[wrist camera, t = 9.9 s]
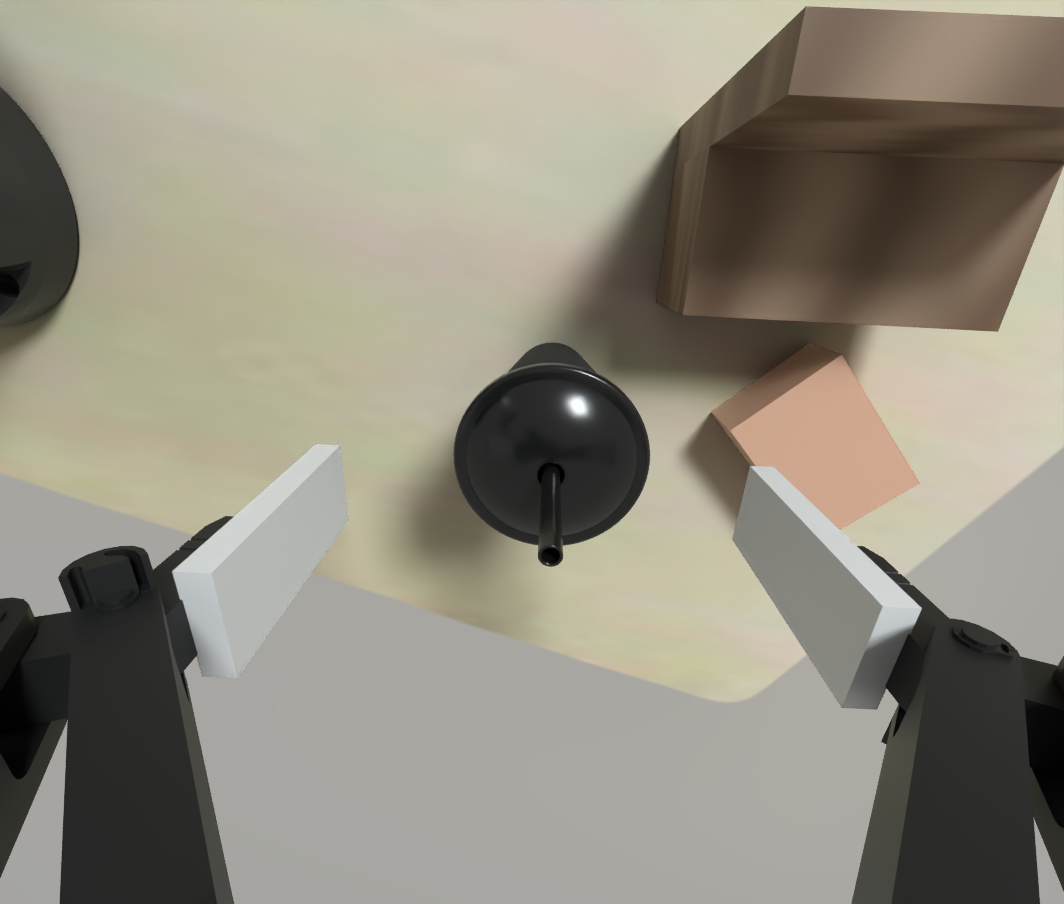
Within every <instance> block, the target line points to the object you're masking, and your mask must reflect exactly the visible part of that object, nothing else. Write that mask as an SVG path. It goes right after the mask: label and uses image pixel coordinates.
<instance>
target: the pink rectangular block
mask: <svg viewBox="0 0 1064 904" xmlns="http://www.w3.org/2000/svg"><path fill="white" fill-rule="evenodd" d="M711 413H712V414H713V415H714V417H715V418H716V420H717V421H718V422H719V424H720V425H721V426H722V428H723V429H724V430H725V432H726V433H727V435H728V436H729V437H730V439H731V440H732V441H733V443H734V444H735V446H736V447H737V448H738V450H739V451H740V452H741V454H742V455H743V457H744V458H745V459H746V461H747V462H748V463H749V465H750V466H764V467H774V468H775V469H777V470H778V471H779V472H780V473H781V474H782V475H783V476H784V477H785V478H786V479H787V480H788V481H789V482H790V483H791V484H792V485H793V486H794V487H795V488H796V489H797V490H799V491H800V492H801V493H802V494H803V495H804V496H805V497H806V498H807V499H808V500H809V501H810V502H811V503H812V504H813V505H814V506H815V507H816V508H817V509H818V510H819V511H821V512H822V513H823V514H824V515H825V516H826V517H827V518H828V519H829V520H830V521H831V522H832V523H833V524H834V525H835V526H836V527H837V528H838V529H839V530H840V529H842V528H844V527H845V526H847V525H849V524H851V523H852V522H854V521H856V520H857V519H859V518H861V517H863V516H864V515H866V514H868V513H869V512H871V511H873V510H875V509H876V508H878V507H880V506H881V505H883V504H885V503H887V502H888V501H890V500H892V499H894V498H895V497H897V496H899V495H900V494H902V493H904V492H906V491H907V490H909V489H911V488H912V487H914V486H916V485H918V484H919V483H920V482H919V481H918V479H917V477H916V476H915V474H914V472H913V471H912V469H911V468H910V466H909V464H908V463H907V461H906V459H905V458H904V456H903V454H902V453H901V451H900V450H899V448H898V446H897V445H896V443H895V441H894V440H893V438H892V436H891V435H890V433H889V431H888V430H887V428H886V427H885V425H884V423H883V422H882V420H881V418H880V417H879V415H878V413H877V412H876V410H875V408H874V407H873V405H872V404H871V402H870V400H869V399H868V397H867V395H866V394H865V392H864V390H863V389H862V387H861V385H860V384H859V382H858V381H857V379H856V377H855V376H854V374H853V372H852V371H851V369H850V367H849V366H848V364H847V362H846V361H845V359H844V358H843V356H842V355H841V354H838V353H835V352H832V351H830V350H827V349H824V348H821V347H818V346H815V345H812V344H807V345H806V346H804V347H803V348H802V349H800V350H799V351H797V352H796V353H794V354H793V355H792V356H790V357H789V358H787V359H786V360H784V361H783V362H782V363H780V364H779V365H777V366H776V367H774V368H773V369H772V370H770V371H769V372H767V373H766V374H764V375H763V376H762V377H760V378H759V379H757V380H756V381H754V382H753V383H752V384H750V385H749V386H747V387H746V388H744V389H743V390H741V391H740V392H739V393H737V394H736V395H734V396H733V397H731V398H730V399H729V400H727V401H726V402H724V403H723V404H721V405H720V406H719V407H717V408H716V409H714V410H713V411H711Z"/></svg>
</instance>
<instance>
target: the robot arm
mask: <svg viewBox="0 0 1064 904" xmlns="http://www.w3.org/2000/svg"><path fill="white" fill-rule="evenodd" d="M77 245H78V238H77V225H76V218H75V212H74V208H73V204H72V200H71V196H70V193H69V190H68V187H67V184H66V182H65V179H64V177H63V174H62V172H61V170H60V167H59V165H58V163H57V161H56V159H55V157H54V155H53V154H52V152H51V150H50V148H49V147H48V145H47V143H46V142H45V140H44V139H43V137H42V135H41V134H40V132H39V131H38V130H37V128H36V127H35V125H34V124H33V123H32V121H31V120H30V119H29V118H28V116H27V115H26V114H25V113H24V111H23V110H22V109H21V108H20V107H19V106H18V105H17V103H16V102H15V101H14V100H13V99H12V98H11V97H10V96H9V95H8V94H7V93H6V92H5V91H4V90H3V89H2V88H1V87H0V327H5V326H12V325H18V324H22V323H25V322H28V321H31V320H33V319H35V318H37V317H39V316H41V315H42V314H44V313H46V312H47V311H48V310H49V309H51V308H52V307H53V306H54V305H55V304H56V303H57V302H58V300H59V299H60V298H61V297H62V295H63V294H64V292H65V291H66V289H67V287H68V285H69V283H70V280H71V278H72V275H73V272H74V268H75V263H76V257H77ZM347 522H348V512H347V503H346V494H345V485H344V477H343V468H342V459H341V450H340V445H321V444H316V445H315V446H313V447H312V448H311V449H310V450H309V451H308V452H307V453H306V454H304V455H303V456H302V457H301V458H300V459H299V460H298V461H296V462H295V463H294V464H293V465H292V466H291V467H290V468H289V469H287V470H286V471H285V472H284V473H283V474H282V475H281V476H279V477H278V478H277V479H276V480H275V481H274V482H273V483H272V484H270V485H269V486H268V487H267V488H266V489H265V490H264V491H263V492H261V493H260V494H259V495H258V496H257V497H256V498H255V499H253V500H252V501H251V502H250V503H249V504H248V505H247V506H246V507H244V508H243V509H242V510H241V511H240V512H239V513H238V514H236V515H235V516H234V517H231V516H225V517H223V518H221V519H219V520H217V521H215V522H213V523H211V524H209V525H207V526H205V527H204V528H203V529H202V530H200V531H199V532H198V533H197V534H196V535H194V536H193V537H192V538H191V541H189V540H188V541H187V542H186V543H185V544H184V545H182V546H181V547H180V550H179V551H178V550H176V551H175V552H174V553H173V554H172V555H171V556H169V557H168V558H167V559H166V560H165V561H164V562H162V563H161V564H160V565H159V566H157V567H156V568H155V569H154V570H153V569H152V566H151V563H150V560H149V556H148V553H147V552H146V551H145V550H144V549H143V548H140V547H136V546H119V547H113V548H108V549H103V550H100V551H97V552H94V553H91V554H88V555H86V556H84V557H82V558H80V559H78V560H76V561H74V562H72V563H71V564H70V565H68V566H67V567H66V568H65V569H63V570H62V572H61V574H60V576H59V577H58V578H59V581H60V583H61V586H62V589H63V591H64V594H65V596H66V599H67V601H68V604H69V606H70V608H71V612H65V613H58V614H52V615H45V616H38V617H34V615H33V613H32V610H31V608H30V606H29V604H28V603H27V602H26V601H24V599H18V598H4V599H0V877H1V875H2V873H3V870H4V868H5V865H6V863H7V861H8V858H9V856H10V854H11V851H12V849H13V847H14V844H15V842H16V840H17V837H18V835H19V833H20V830H21V828H22V825H23V823H24V821H25V819H26V816H27V814H28V812H29V809H30V807H31V804H32V802H33V800H34V797H35V795H36V793H37V790H38V788H39V786H40V783H41V781H42V779H43V776H44V774H45V772H46V769H47V767H48V764H49V762H50V760H51V758H52V755H53V753H54V750H55V748H56V746H57V743H58V741H59V739H60V736H61V734H62V732H63V729H64V727H65V725H66V722H67V720H68V726H67V727H68V728H67V749H66V772H65V794H64V818H63V841H62V863H61V886H60V904H234V901H233V897H232V892H231V888H230V883H229V878H228V873H227V868H226V864H225V859H224V854H223V850H222V845H221V840H220V836H219V831H218V826H217V821H216V816H215V812H214V807H213V802H212V798H211V793H210V788H209V783H208V778H207V774H206V769H205V764H204V760H203V755H202V750H201V745H200V741H199V736H198V731H197V727H196V722H195V717H194V712H193V708H192V703H191V698H190V694H189V689H188V684H187V680H186V677H185V674H184V670H185V669H186V667H187V666H188V665H189V664H190V663H191V662H192V660H193V659H194V658H195V657H196V656H197V660H198V663H199V666H200V670H201V673H202V676H203V677H224V678H238V677H239V675H240V674H241V673H242V671H243V670H244V668H245V667H246V665H247V664H248V663H249V661H250V660H251V658H252V657H253V655H254V654H255V653H256V651H257V650H258V648H259V647H260V646H261V644H262V643H263V641H264V640H265V639H266V637H267V636H268V634H269V633H270V631H271V630H272V629H273V627H274V625H275V624H276V623H277V621H278V620H279V619H280V617H281V616H282V614H283V613H284V611H285V610H286V608H287V607H288V606H289V604H290V603H291V601H292V600H293V598H294V597H295V596H296V594H297V593H298V591H299V590H300V589H301V587H302V586H303V584H304V583H305V581H306V580H307V579H308V577H309V576H310V574H311V573H312V572H313V570H314V569H315V567H316V566H317V564H318V563H319V562H320V560H321V559H322V557H323V556H324V554H325V553H326V552H327V550H328V549H329V547H330V546H331V544H332V543H333V542H334V540H335V539H336V537H337V536H338V534H339V533H340V532H341V530H342V529H343V527H344V526H345V524H346V523H347ZM733 541H734V542H735V544H736V546H737V547H738V549H739V550H740V552H741V553H742V555H743V556H744V558H745V559H746V561H747V563H748V564H749V566H750V567H751V569H752V570H753V572H754V573H755V575H756V576H757V578H758V579H759V581H760V583H761V584H762V586H763V587H764V589H765V590H766V592H767V593H768V595H769V596H770V598H771V599H772V601H773V603H774V604H775V606H776V607H777V609H778V610H779V612H780V613H781V615H782V616H783V618H784V620H785V621H786V623H787V624H788V626H789V627H790V629H791V630H792V632H793V633H794V635H795V636H796V638H797V640H798V641H799V643H800V644H801V646H802V647H803V649H804V650H805V652H806V653H807V655H808V656H809V658H810V660H811V661H812V663H813V664H814V666H815V667H816V669H817V670H818V672H819V673H820V675H821V677H822V678H823V680H824V681H825V683H826V684H827V686H828V687H829V689H830V690H831V692H832V693H833V695H834V697H835V698H836V699H837V701H838V703H839V704H840V706H841V707H842V708H857V709H877V708H878V706H879V704H880V701H881V699H882V697H883V695H884V693H885V690H886V688H887V689H888V690H889V692H890V693H891V694H892V695H893V697H894V698H895V699H896V701H897V702H898V703H899V704H898V707H897V709H896V711H895V713H894V715H893V717H892V719H891V722H890V724H889V726H888V728H887V730H886V732H885V734H884V737H883V739H882V742H883V743H885V744H887V745H886V750H885V755H884V759H883V763H882V768H881V773H880V778H879V782H878V786H877V791H876V795H875V800H874V804H873V809H872V813H871V818H870V823H869V827H868V831H867V836H866V841H865V845H864V850H863V854H862V859H861V863H860V868H859V872H858V877H857V881H856V886H855V890H854V895H853V899H852V904H1040V898H1039V886H1038V872H1037V861H1036V845H1035V832H1034V819H1035V821H1036V824H1037V826H1038V829H1039V832H1040V834H1041V836H1042V839H1043V841H1044V844H1045V846H1046V849H1047V851H1048V854H1049V856H1050V859H1051V861H1052V864H1053V866H1054V868H1055V871H1056V873H1057V876H1058V878H1059V881H1060V883H1061V886H1062V888H1063V891H1064V656H1063V658H1062V660H1061V661H1060V663H1059V665H1058V666H1056V665H1052V664H1048V663H1044V662H1040V661H1036V660H1032V659H1028V658H1024V657H1020V655H1019V653H1018V651H1017V650H1016V649H1015V648H1014V647H1013V646H1012V645H1011V644H1010V643H1009V642H1007V641H1006V640H1005V639H1003V638H1001V637H1000V636H998V635H997V634H995V633H994V632H992V631H990V630H987V629H985V628H983V627H981V626H979V625H976V624H973V623H970V622H966V621H964V620H958V619H949V618H948V617H947V616H946V615H945V614H944V613H943V612H942V611H941V610H940V609H938V608H937V607H936V606H935V605H934V604H933V603H932V602H931V601H930V600H929V599H928V598H926V597H925V596H924V595H923V594H922V593H921V592H920V591H919V590H918V589H916V587H914V586H913V585H910V582H909V581H908V580H907V579H906V578H905V577H903V576H902V575H901V574H898V571H897V570H896V569H895V568H894V567H893V566H891V565H890V564H889V563H888V562H887V561H886V560H885V559H884V558H882V557H881V556H879V555H877V554H875V553H874V552H872V551H870V550H869V549H867V548H865V547H863V546H856V545H855V544H854V543H853V542H852V541H851V540H850V539H849V538H848V537H847V536H846V535H845V534H844V533H843V532H841V531H840V530H839V529H838V528H837V527H836V526H835V525H834V524H833V523H832V522H831V521H830V520H829V519H828V518H827V517H826V516H825V515H824V514H823V513H822V512H821V511H819V510H818V509H817V508H816V507H815V506H814V505H813V504H812V503H811V502H810V501H809V500H808V499H807V498H806V497H805V496H804V495H803V494H802V493H801V492H800V491H799V490H797V489H796V488H795V487H794V486H793V485H792V484H791V483H790V482H789V481H788V480H787V479H786V478H785V477H784V476H783V475H782V474H781V473H780V472H779V471H778V470H777V469H775V468H774V467H764V466H750V468H749V472H748V476H747V480H746V485H745V489H744V493H743V497H742V501H741V505H740V510H739V514H738V518H737V522H736V526H735V530H734V534H733ZM1033 817H1034V819H1033Z"/></svg>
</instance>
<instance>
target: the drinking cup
mask: <svg viewBox="0 0 1064 904" xmlns="http://www.w3.org/2000/svg"><path fill="white" fill-rule="evenodd" d="M649 464H650V447H649V440H648V435H647V432H646V428H645V425H644V423H643V421H642V418H641V416H640V414H639V413H638V411H637V409H636V408H635V406H634V405H633V403H632V402H631V400H630V399H629V398H628V397H627V396H626V395H625V393H624V392H623V391H622V390H620V389H619V388H618V387H617V386H616V385H615V384H613V383H612V382H611V381H609V380H608V379H606V378H605V377H603V376H601V375H599V374H597V373H596V372H595V371H594V370H593V369H592V368H591V367H590V366H589V365H588V363H587V362H586V361H585V360H584V359H583V358H582V357H581V356H580V355H579V354H578V353H577V352H576V351H575V350H573V349H572V348H570V347H568V346H566V345H563V344H559V343H545V344H541V345H538V346H536V347H534V348H532V349H530V350H529V351H528V352H527V353H526V354H524V356H523V357H522V358H521V359H520V360H519V361H518V362H517V363H516V364H515V365H514V366H513V367H512V368H511V369H510V371H509V372H508V373H506V374H504V375H502V376H500V377H499V378H497V379H496V380H494V381H493V382H491V383H490V384H489V385H487V386H486V387H485V388H484V389H483V390H482V391H481V392H480V393H479V394H478V395H477V396H476V397H475V398H474V400H473V401H472V402H471V404H470V405H469V407H468V408H467V410H466V412H465V413H464V415H463V417H462V419H461V422H460V424H459V427H458V430H457V433H456V437H455V443H454V467H455V473H456V477H457V480H458V483H459V486H460V488H461V491H462V493H463V495H464V497H465V498H466V500H467V502H468V503H469V504H470V506H471V507H472V509H473V510H474V511H475V512H476V513H477V514H478V516H479V517H480V518H482V519H483V520H484V521H485V522H486V523H487V524H488V525H490V526H491V527H492V528H494V529H495V530H497V531H499V532H500V533H502V534H504V535H506V536H508V537H510V538H513V539H515V540H518V541H521V542H525V543H529V544H534V545H538V559H539V561H540V562H541V563H542V564H543V565H545V566H556V565H558V564H559V563H560V562H561V561H562V559H563V545H570V544H575V543H579V542H582V541H586V540H588V539H591V538H593V537H596V536H598V535H600V534H602V533H603V532H605V531H607V530H608V529H610V528H611V527H613V526H614V525H615V524H616V523H618V522H619V521H620V520H621V519H622V518H623V517H624V516H625V515H626V514H627V513H628V512H629V511H630V509H631V508H632V507H633V505H634V504H635V503H636V501H637V499H638V498H639V496H640V494H641V492H642V490H643V487H644V485H645V482H646V479H647V475H648V471H649Z"/></svg>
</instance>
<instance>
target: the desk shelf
mask: <svg viewBox="0 0 1064 904" xmlns="http://www.w3.org/2000/svg"><path fill="white" fill-rule="evenodd" d="M1063 166H1064V18H1063V17H1040V16H1017V15H993V14H970V13H947V12H923V11H900V10H877V9H853V8H830V7H807V6H806V7H805V8H804V9H803V10H802V11H801V12H800V13H799V14H798V15H797V16H796V17H794V18H793V19H792V20H791V21H790V22H789V23H788V24H787V25H786V26H785V27H784V28H783V29H782V30H781V31H780V32H779V33H778V34H777V35H776V36H775V37H774V38H773V39H772V40H771V41H770V42H769V43H767V44H766V45H765V46H764V47H763V48H762V49H761V50H760V51H759V52H758V53H757V54H756V55H755V56H754V57H753V58H752V59H751V60H750V61H749V62H748V63H747V64H746V65H745V66H744V67H743V68H742V69H740V70H739V71H738V72H737V73H736V74H735V75H734V76H733V77H732V78H731V79H730V80H729V81H728V82H727V83H726V84H725V85H724V86H723V87H722V88H721V89H720V90H719V91H718V92H717V93H716V94H715V95H713V96H712V97H711V98H710V99H709V100H708V101H707V102H706V103H705V104H704V105H703V106H702V107H701V108H700V109H699V110H698V111H697V112H696V113H695V114H694V115H693V116H692V117H691V118H690V119H689V120H688V121H686V122H685V123H684V124H683V125H682V126H681V127H680V131H679V139H678V146H677V153H676V161H675V168H674V175H673V183H672V190H671V197H670V205H669V212H668V219H667V227H666V234H665V241H664V249H663V256H662V263H661V271H660V278H659V285H658V293H657V300H656V303H658V304H660V305H663V306H665V307H667V308H669V309H671V310H673V311H675V312H677V313H680V314H682V315H690V316H709V317H728V318H747V319H767V320H786V321H805V322H824V323H844V324H863V325H882V326H901V327H920V328H940V329H959V330H978V331H997V332H998V330H999V328H1000V325H1001V322H1002V320H1003V317H1004V315H1005V312H1006V310H1007V307H1008V305H1009V302H1010V300H1011V297H1012V295H1013V292H1014V290H1015V287H1016V285H1017V282H1018V280H1019V277H1020V275H1021V272H1022V270H1023V267H1024V265H1025V262H1026V260H1027V257H1028V255H1029V252H1030V249H1031V247H1032V244H1033V242H1034V239H1035V237H1036V234H1037V232H1038V229H1039V227H1040V224H1041V222H1042V219H1043V217H1044V214H1045V212H1046V209H1047V207H1048V204H1049V202H1050V199H1051V197H1052V194H1053V192H1054V189H1055V187H1056V184H1057V182H1058V179H1059V177H1060V174H1061V171H1062V169H1063Z"/></svg>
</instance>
